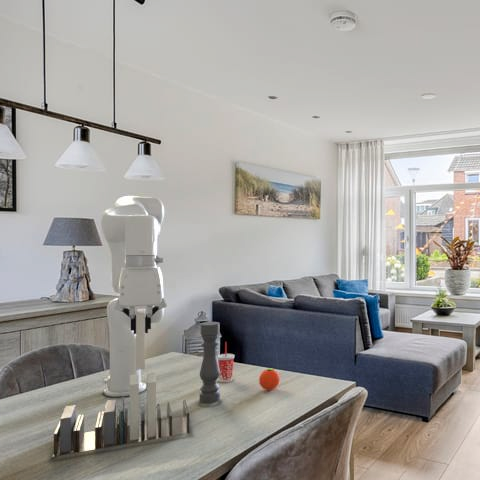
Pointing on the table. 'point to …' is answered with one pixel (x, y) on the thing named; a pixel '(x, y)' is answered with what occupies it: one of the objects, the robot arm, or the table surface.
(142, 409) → the book rack
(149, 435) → the white book
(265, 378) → the clementine
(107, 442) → the grey book
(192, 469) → the table surface
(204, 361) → the candle holder
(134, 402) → the white book
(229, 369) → the beverage cup
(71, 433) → the grey book
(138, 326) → the white book
